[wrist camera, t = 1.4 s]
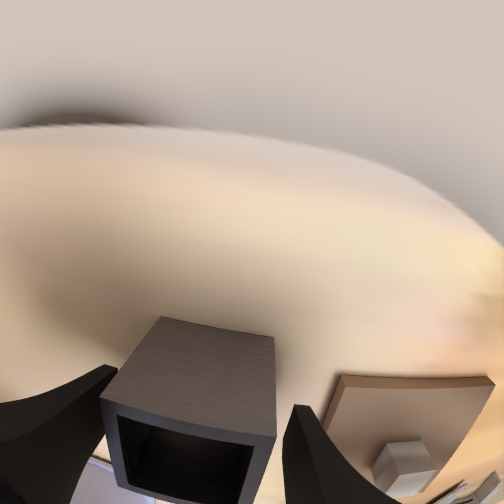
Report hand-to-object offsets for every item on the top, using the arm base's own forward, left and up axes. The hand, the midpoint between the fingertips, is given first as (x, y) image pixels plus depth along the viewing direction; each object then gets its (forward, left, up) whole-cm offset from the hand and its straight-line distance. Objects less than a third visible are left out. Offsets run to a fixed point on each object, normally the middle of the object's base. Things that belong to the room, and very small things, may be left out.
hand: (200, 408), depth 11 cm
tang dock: (-4, -11, -3) cm, 12 cm away
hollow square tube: (0, 0, -3) cm, 3 cm away
